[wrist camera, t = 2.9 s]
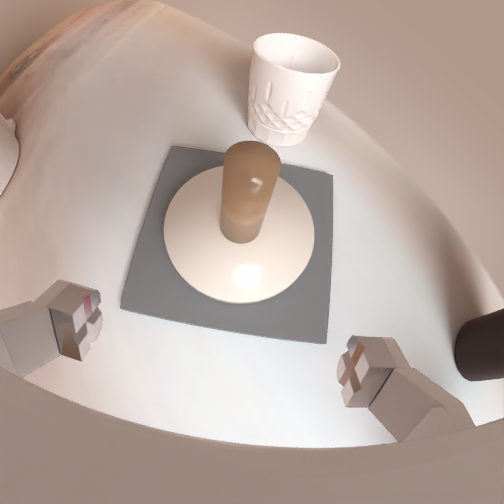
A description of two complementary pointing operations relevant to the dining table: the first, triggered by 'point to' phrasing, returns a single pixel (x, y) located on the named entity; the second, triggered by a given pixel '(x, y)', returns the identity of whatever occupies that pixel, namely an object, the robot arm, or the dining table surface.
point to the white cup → (288, 86)
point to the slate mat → (219, 313)
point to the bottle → (482, 348)
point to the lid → (239, 228)
